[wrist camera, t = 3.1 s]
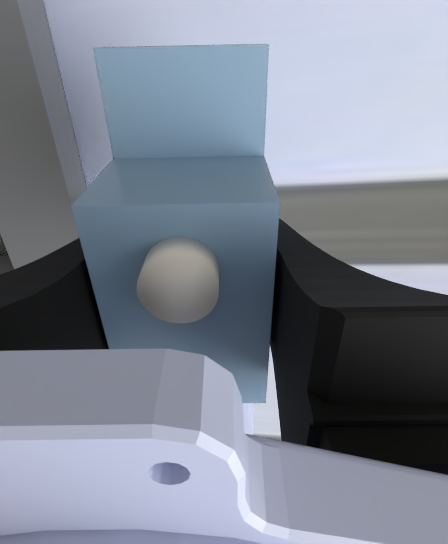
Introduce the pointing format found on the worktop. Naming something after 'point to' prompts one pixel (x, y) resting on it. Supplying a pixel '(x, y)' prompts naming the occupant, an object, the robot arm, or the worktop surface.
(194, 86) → the block
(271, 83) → the worktop surface
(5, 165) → the mounting plate
